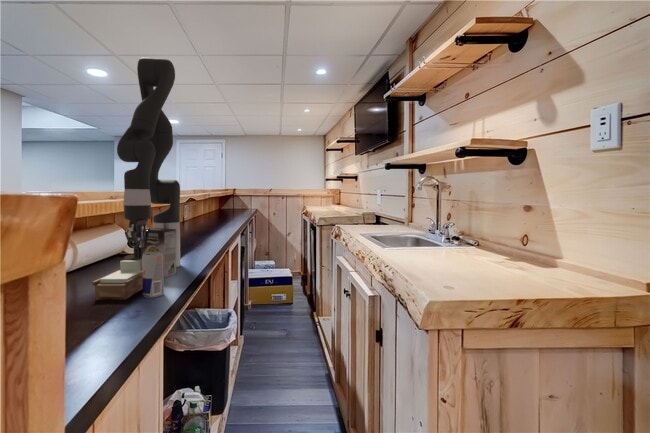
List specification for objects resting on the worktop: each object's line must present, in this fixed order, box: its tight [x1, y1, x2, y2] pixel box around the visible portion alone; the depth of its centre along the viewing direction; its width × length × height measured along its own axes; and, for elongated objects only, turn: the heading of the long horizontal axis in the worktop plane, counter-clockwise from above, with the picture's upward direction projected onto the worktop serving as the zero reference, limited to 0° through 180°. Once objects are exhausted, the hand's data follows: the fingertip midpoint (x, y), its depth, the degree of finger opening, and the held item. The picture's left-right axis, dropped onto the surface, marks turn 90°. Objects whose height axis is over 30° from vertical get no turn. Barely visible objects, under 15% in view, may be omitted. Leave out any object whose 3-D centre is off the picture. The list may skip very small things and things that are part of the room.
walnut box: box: [91, 269, 143, 301], centre depth 104 cm, size 14×9×5 cm, turn 4°
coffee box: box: [143, 227, 177, 278], centre depth 126 cm, size 9×6×16 cm
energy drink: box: [141, 252, 165, 299], centre depth 102 cm, size 5×5×12 cm
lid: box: [99, 259, 142, 283], centre depth 104 cm, size 11×7×4 cm, turn 4°
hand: (138, 259), depth 114 cm, fingers closed
